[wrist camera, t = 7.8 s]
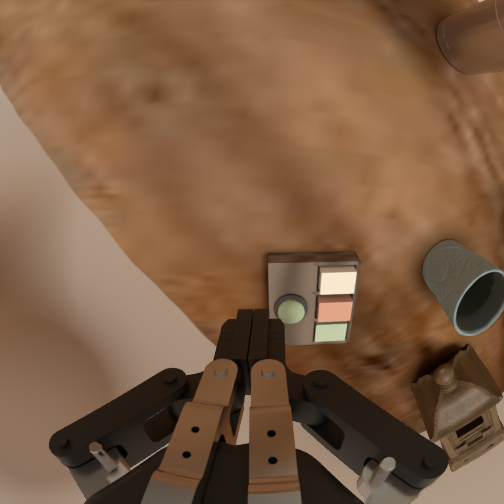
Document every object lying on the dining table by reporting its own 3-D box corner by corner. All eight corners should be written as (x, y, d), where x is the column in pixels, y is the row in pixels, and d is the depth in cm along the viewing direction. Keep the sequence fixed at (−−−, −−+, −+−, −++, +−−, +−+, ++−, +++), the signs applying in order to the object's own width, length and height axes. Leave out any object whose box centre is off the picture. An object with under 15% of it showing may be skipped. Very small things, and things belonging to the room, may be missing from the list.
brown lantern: (390, 352, 51) (403, 433, 35) (469, 307, 43) (506, 382, 27) (434, 418, 60) (443, 476, 44) (490, 389, 52) (508, 445, 36)
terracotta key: (349, 292, 41) (352, 301, 38) (346, 311, 42) (349, 320, 40) (317, 293, 41) (319, 303, 39) (315, 312, 42) (317, 322, 40)
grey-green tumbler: (413, 249, 40) (451, 292, 29) (465, 223, 37) (511, 256, 26) (424, 301, 43) (455, 348, 32) (471, 276, 40) (509, 315, 30)
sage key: (344, 314, 43) (347, 323, 41) (342, 330, 45) (344, 340, 42) (314, 315, 44) (316, 325, 42) (313, 331, 45) (314, 341, 43)
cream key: (352, 263, 39) (356, 271, 37) (350, 284, 40) (353, 293, 38) (319, 264, 39) (321, 272, 37) (317, 285, 40) (320, 294, 38)
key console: (355, 251, 40) (363, 265, 36) (345, 330, 46) (350, 347, 42) (268, 253, 41) (267, 267, 37) (270, 332, 47) (269, 350, 43)
